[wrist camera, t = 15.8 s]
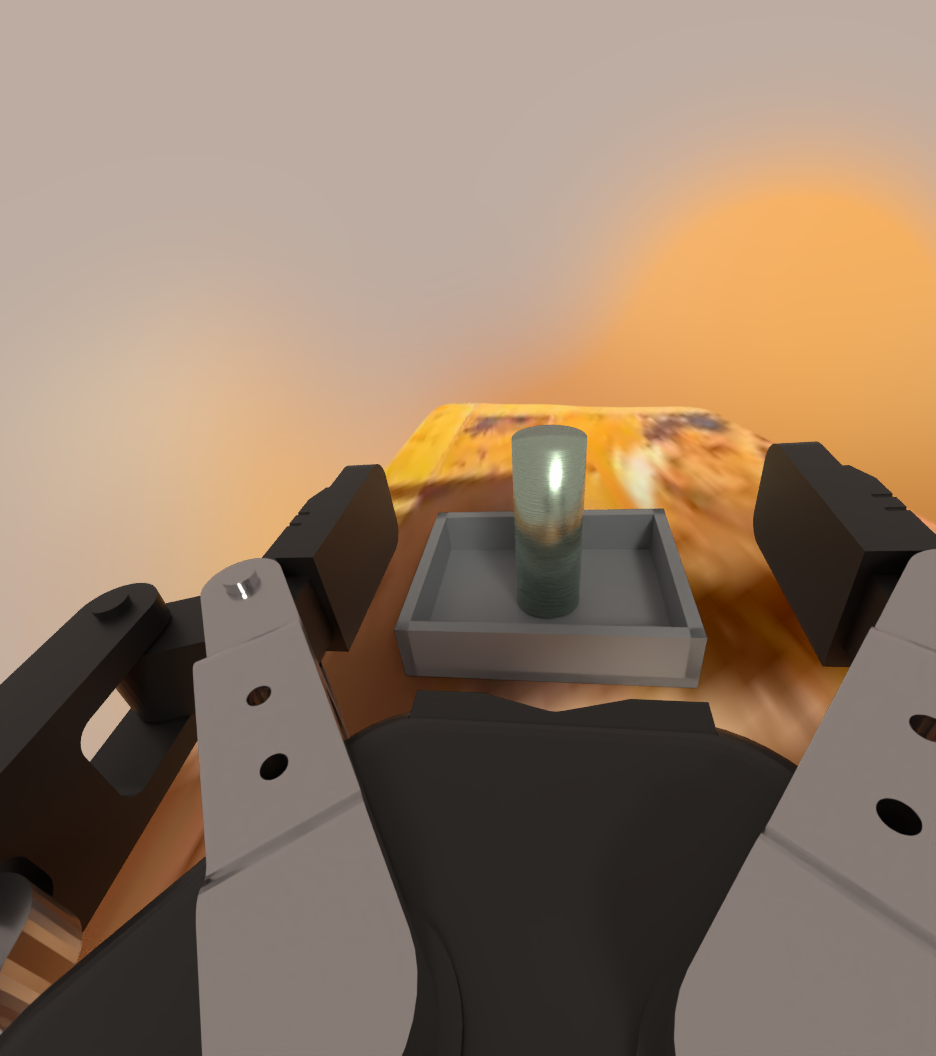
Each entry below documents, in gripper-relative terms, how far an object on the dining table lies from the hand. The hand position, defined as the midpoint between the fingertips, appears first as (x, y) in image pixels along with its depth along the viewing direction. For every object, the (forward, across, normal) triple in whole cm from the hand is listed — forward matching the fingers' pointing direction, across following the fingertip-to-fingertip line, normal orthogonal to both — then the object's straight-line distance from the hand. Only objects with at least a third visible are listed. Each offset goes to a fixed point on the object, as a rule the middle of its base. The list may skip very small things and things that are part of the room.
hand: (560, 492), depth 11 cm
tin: (+18, +2, +19) cm, 26 cm away
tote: (+18, +2, +20) cm, 26 cm away
